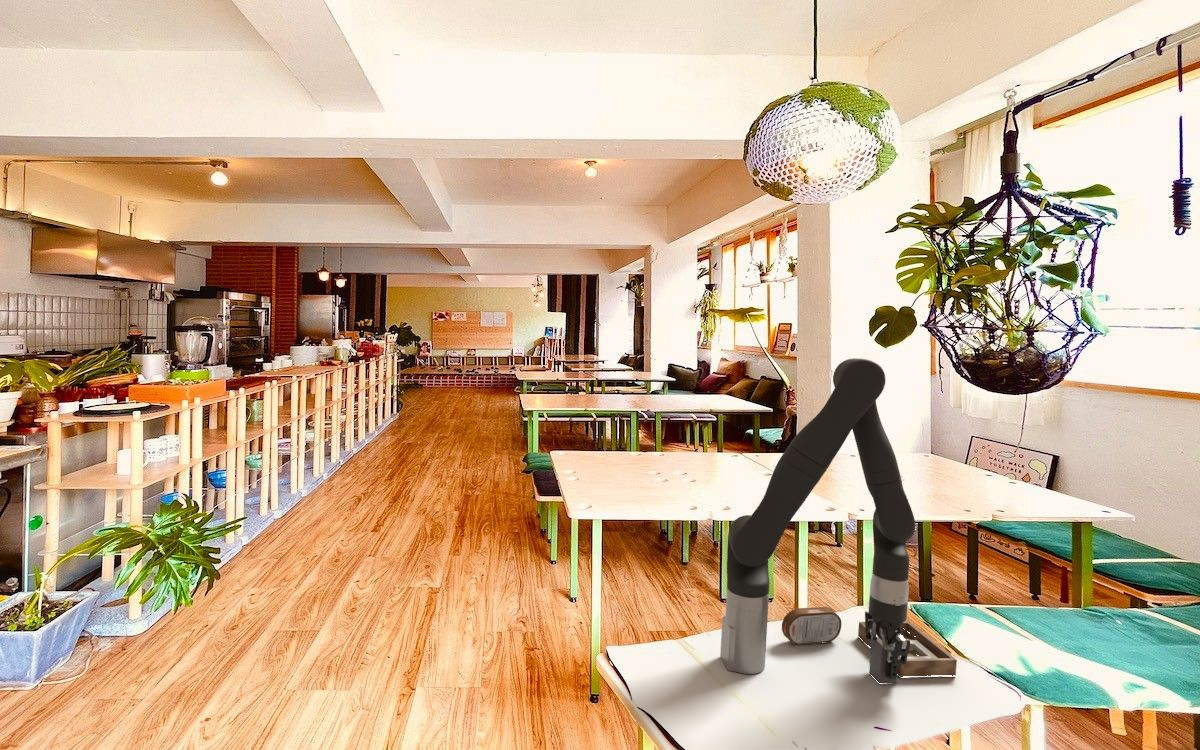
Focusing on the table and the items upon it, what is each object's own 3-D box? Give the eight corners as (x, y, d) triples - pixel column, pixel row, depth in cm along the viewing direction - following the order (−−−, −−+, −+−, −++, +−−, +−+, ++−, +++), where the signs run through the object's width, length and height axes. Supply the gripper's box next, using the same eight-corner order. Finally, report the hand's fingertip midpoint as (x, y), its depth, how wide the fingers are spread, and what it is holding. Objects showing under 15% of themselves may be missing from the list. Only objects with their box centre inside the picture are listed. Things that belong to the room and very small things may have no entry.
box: (900, 678, 134) (901, 660, 133) (857, 637, 152) (859, 621, 151) (955, 677, 135) (956, 660, 135) (907, 636, 153) (908, 621, 152)
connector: (879, 684, 131) (881, 644, 130) (869, 674, 135) (871, 634, 134) (896, 684, 131) (899, 643, 131) (886, 673, 135) (889, 634, 135)
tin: (835, 637, 151) (837, 604, 151) (842, 643, 148) (844, 609, 148) (779, 641, 148) (781, 608, 148) (786, 648, 145) (788, 614, 145)
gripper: (855, 581, 139) (850, 653, 140) (891, 610, 124) (885, 690, 126) (886, 581, 139) (881, 653, 141) (925, 610, 125) (919, 689, 126)
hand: (883, 670), depth 133 cm, fingers open, 5 cm apart
